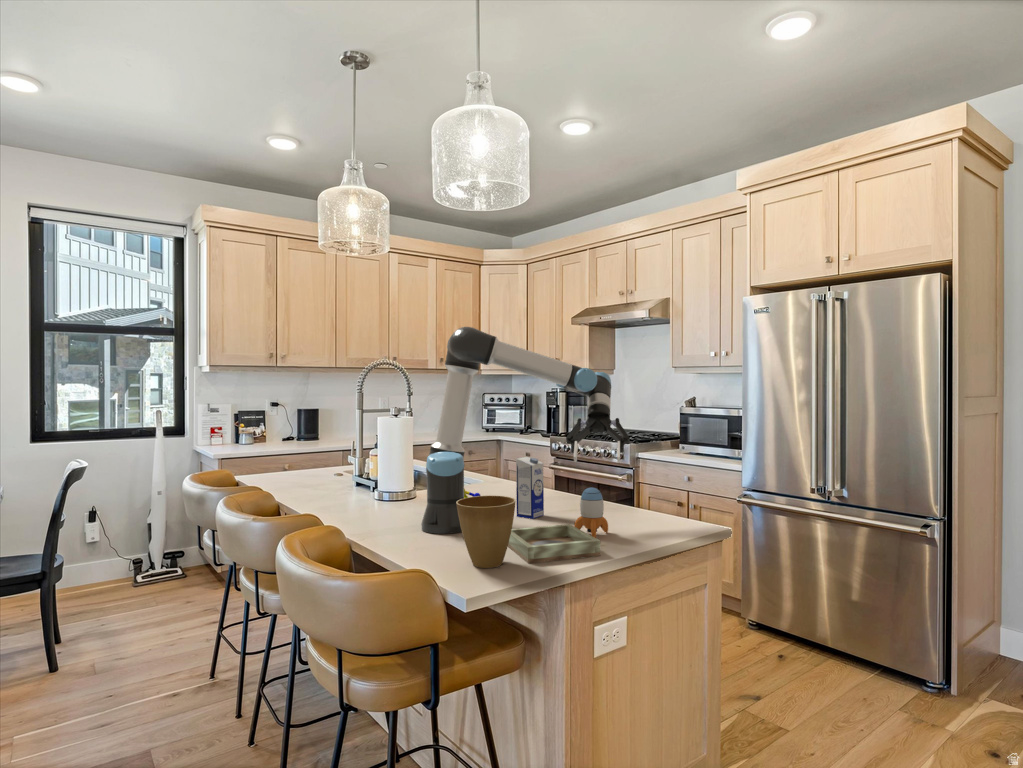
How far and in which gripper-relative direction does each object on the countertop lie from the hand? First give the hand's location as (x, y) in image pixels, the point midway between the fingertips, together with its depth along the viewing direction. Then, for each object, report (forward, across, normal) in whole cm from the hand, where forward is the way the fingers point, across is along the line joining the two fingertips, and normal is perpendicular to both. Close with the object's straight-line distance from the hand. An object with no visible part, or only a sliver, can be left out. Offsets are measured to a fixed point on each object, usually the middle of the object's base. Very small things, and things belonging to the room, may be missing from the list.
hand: (596, 459), depth 190 cm
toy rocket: (+23, +1, -7) cm, 24 cm away
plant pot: (+46, +25, +16) cm, 55 cm away
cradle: (+35, +11, +5) cm, 37 cm away
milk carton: (+6, +24, -24) cm, 34 cm away
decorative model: (-2, +52, -32) cm, 61 cm away
